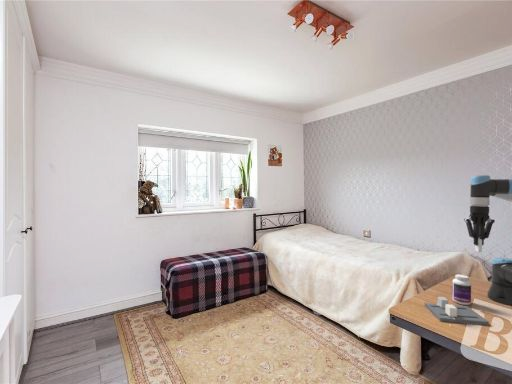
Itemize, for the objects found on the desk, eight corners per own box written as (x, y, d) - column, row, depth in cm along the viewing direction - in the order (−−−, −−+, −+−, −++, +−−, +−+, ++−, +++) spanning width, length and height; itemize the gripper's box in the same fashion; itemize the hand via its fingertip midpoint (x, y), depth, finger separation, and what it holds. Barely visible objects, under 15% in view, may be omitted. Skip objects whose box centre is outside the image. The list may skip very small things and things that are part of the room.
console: (467, 308, 136) (467, 305, 136) (489, 325, 120) (489, 321, 120) (424, 305, 140) (424, 302, 140) (440, 321, 124) (440, 317, 124)
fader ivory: (452, 312, 128) (452, 304, 128) (456, 316, 124) (457, 308, 124) (445, 312, 128) (445, 304, 128) (449, 316, 124) (449, 307, 124)
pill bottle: (474, 306, 139) (475, 279, 139) (456, 305, 141) (457, 278, 140) (465, 300, 147) (466, 274, 147) (449, 298, 148) (449, 273, 148)
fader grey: (443, 304, 137) (444, 297, 136) (448, 308, 133) (448, 300, 133) (437, 304, 137) (437, 296, 137) (441, 307, 133) (441, 299, 133)
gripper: (489, 205, 138) (487, 250, 139) (461, 204, 141) (459, 249, 141) (499, 206, 131) (498, 254, 132) (469, 205, 133) (468, 252, 134)
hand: (478, 251), depth 136 cm, fingers closed
